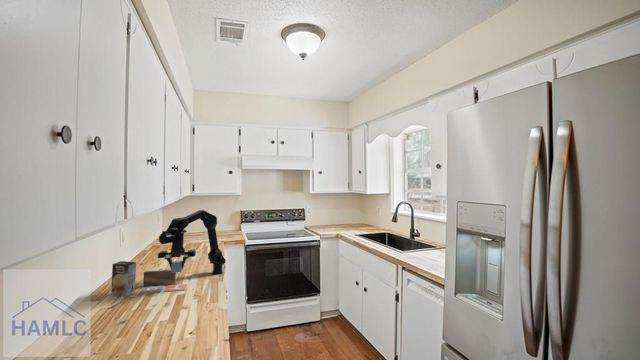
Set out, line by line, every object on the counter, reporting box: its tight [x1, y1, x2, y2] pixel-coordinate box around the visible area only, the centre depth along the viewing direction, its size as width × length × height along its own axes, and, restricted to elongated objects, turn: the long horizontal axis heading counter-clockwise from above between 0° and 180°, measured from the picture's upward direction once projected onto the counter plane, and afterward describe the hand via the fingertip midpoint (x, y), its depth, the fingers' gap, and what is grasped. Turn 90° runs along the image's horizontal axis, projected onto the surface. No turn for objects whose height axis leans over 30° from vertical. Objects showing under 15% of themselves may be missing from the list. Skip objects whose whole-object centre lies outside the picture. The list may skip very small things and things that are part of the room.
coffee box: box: [110, 260, 137, 297], centre depth 159 cm, size 9×6×16 cm
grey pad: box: [139, 285, 165, 295], centre depth 166 cm, size 10×10×1 cm
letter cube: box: [170, 260, 183, 273], centre depth 170 cm, size 5×5×5 cm
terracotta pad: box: [164, 283, 188, 293], centre depth 169 cm, size 10×10×1 cm
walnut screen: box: [142, 269, 177, 288], centre depth 174 cm, size 2×16×8 cm, turn 107°
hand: (176, 269), depth 170 cm, fingers closed on letter cube, 5 cm apart
